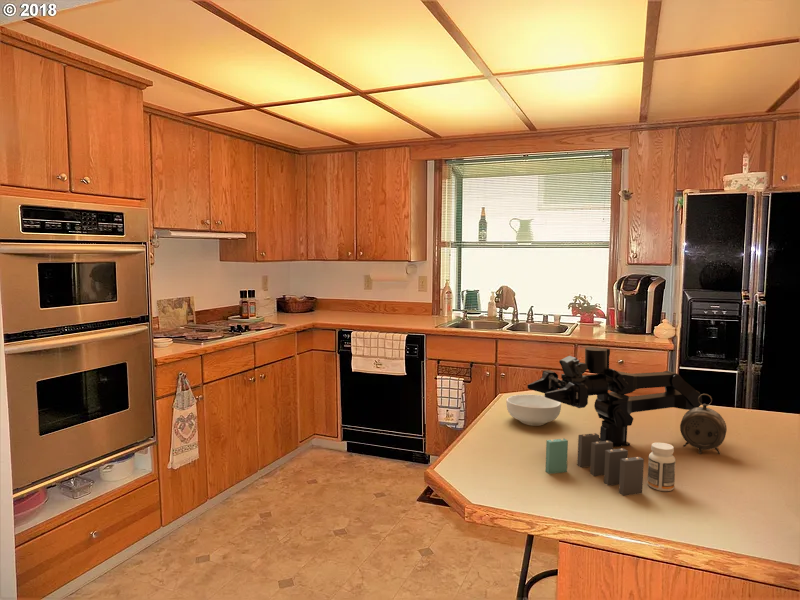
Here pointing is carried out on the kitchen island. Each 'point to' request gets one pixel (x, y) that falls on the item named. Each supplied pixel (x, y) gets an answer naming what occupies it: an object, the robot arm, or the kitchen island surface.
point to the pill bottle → (661, 467)
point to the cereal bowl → (533, 409)
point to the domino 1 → (556, 456)
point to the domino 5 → (631, 476)
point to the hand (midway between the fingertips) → (536, 390)
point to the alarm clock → (703, 428)
